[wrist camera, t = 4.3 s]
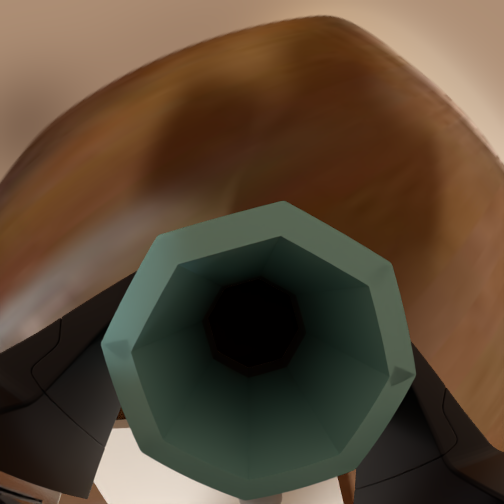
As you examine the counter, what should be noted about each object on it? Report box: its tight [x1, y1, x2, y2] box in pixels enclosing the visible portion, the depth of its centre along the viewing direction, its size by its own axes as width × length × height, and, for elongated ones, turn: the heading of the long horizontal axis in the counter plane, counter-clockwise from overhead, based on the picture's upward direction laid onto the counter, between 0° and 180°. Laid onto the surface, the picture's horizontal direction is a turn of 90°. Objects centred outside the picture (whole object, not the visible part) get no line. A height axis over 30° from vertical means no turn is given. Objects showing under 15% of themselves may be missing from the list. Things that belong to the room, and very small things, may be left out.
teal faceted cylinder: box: [101, 201, 416, 501], centre depth 9 cm, size 6×6×10 cm
